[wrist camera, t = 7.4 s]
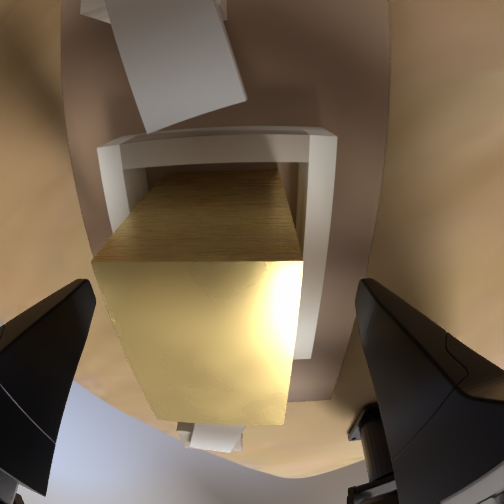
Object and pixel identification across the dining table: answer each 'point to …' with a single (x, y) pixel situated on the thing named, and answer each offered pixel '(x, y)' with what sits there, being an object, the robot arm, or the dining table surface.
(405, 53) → the dining table surface
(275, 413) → the tan rectangular block
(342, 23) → the coupling base
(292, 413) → the dining table surface
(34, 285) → the dining table surface
